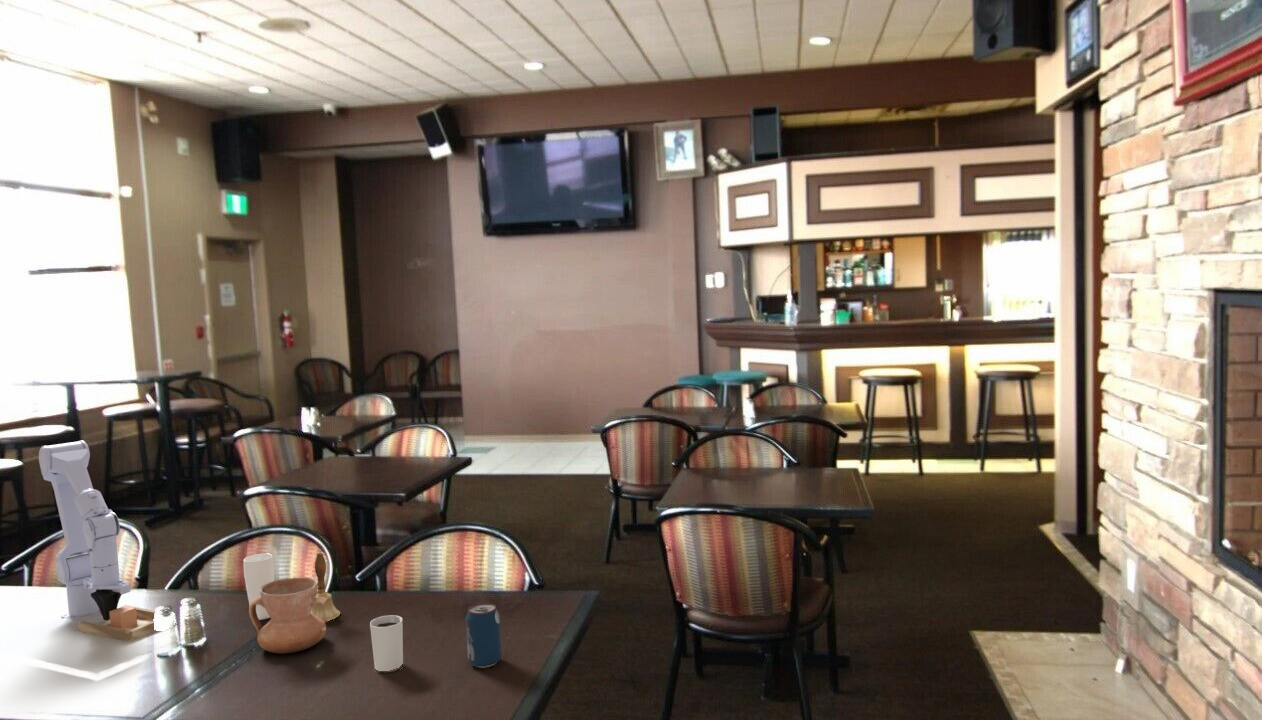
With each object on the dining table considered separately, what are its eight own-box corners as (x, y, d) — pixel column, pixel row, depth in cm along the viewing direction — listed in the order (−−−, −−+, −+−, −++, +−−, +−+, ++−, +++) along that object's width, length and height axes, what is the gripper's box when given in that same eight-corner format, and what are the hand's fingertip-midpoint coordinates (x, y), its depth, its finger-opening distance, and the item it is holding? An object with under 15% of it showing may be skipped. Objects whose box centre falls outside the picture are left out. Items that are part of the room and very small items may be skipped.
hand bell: (310, 612, 219) (306, 549, 218) (344, 610, 220) (340, 547, 219) (301, 625, 211) (296, 560, 210) (336, 622, 212) (332, 558, 210)
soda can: (507, 658, 188) (504, 603, 187) (491, 671, 181) (488, 615, 180) (478, 654, 190) (475, 600, 189) (462, 668, 184) (459, 612, 183)
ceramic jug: (343, 633, 205) (339, 574, 203) (313, 660, 190) (309, 596, 189) (270, 633, 207) (265, 574, 206) (235, 659, 192) (230, 595, 191)
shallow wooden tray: (126, 617, 220) (125, 605, 220) (175, 627, 212) (174, 614, 212) (79, 635, 209) (78, 622, 209) (129, 646, 202) (128, 632, 201)
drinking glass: (266, 622, 213) (262, 562, 212) (241, 621, 215) (237, 561, 213) (282, 612, 220) (278, 553, 219) (258, 611, 221) (254, 552, 220)
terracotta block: (126, 621, 214) (125, 605, 214) (137, 623, 212) (136, 607, 212) (110, 627, 210) (109, 611, 210) (121, 630, 209) (120, 613, 208)
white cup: (376, 677, 181) (373, 629, 180) (369, 665, 187) (366, 619, 186) (408, 669, 184) (405, 623, 183) (401, 658, 190) (398, 613, 189)
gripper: (69, 566, 212) (74, 620, 213) (108, 572, 206) (113, 628, 207) (97, 557, 218) (102, 610, 219) (136, 563, 212) (141, 618, 213)
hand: (109, 618), depth 213 cm, fingers closed
